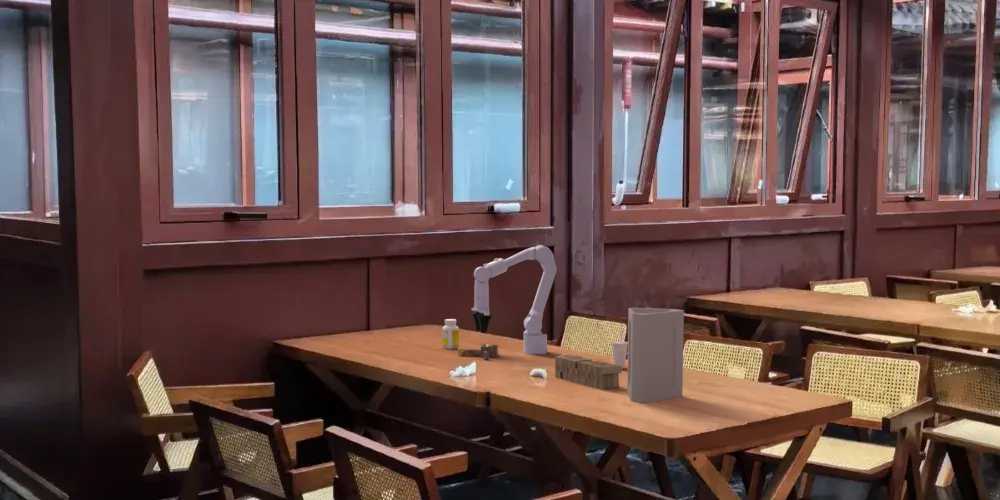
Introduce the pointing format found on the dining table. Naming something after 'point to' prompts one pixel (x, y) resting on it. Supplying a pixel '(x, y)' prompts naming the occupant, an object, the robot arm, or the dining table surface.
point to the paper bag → (655, 354)
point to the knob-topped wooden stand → (479, 351)
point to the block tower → (587, 371)
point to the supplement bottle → (450, 334)
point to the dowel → (486, 355)
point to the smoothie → (619, 352)
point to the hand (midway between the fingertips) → (481, 331)
